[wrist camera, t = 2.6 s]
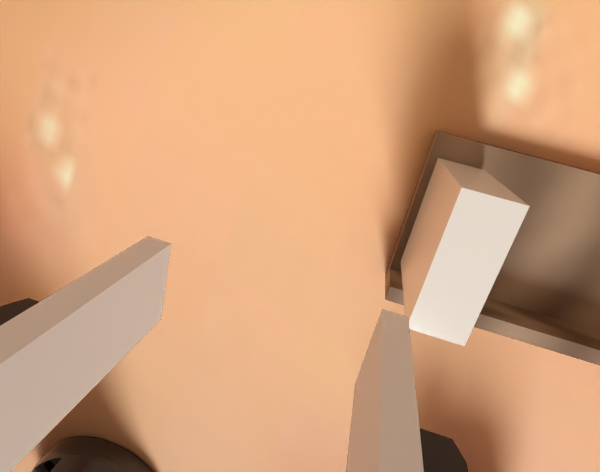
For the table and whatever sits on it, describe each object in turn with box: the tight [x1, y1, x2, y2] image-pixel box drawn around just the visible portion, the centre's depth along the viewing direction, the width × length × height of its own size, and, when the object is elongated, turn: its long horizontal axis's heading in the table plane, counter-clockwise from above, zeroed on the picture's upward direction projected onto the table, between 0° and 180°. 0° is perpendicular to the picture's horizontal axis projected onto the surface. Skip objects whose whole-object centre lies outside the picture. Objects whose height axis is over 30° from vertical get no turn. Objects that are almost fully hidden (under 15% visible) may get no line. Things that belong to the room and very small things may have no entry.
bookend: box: [401, 158, 530, 346], centre depth 24 cm, size 3×8×9 cm, turn 166°
